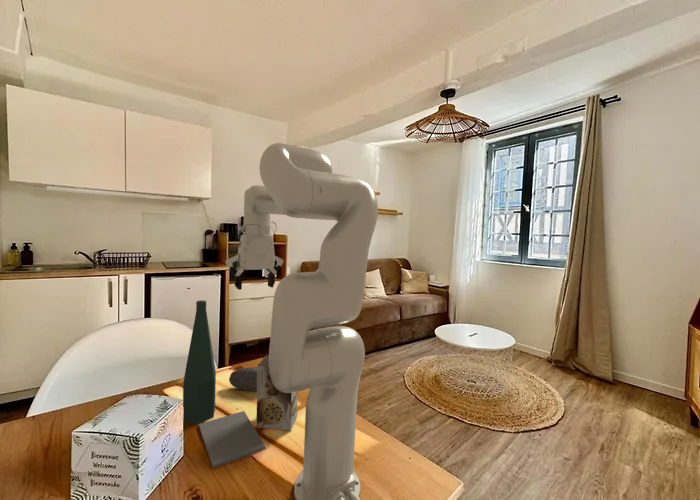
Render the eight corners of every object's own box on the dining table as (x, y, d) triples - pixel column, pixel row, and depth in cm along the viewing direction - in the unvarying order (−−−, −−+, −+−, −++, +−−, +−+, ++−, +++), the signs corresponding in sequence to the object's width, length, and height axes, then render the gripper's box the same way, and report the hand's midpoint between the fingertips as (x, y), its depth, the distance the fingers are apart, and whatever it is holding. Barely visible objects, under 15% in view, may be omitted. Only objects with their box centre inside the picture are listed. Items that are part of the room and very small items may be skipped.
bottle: (213, 403, 87) (215, 297, 85) (218, 418, 81) (220, 303, 79) (181, 411, 83) (182, 299, 81) (183, 427, 76) (185, 306, 74)
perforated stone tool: (225, 391, 94) (225, 369, 93) (233, 383, 99) (233, 361, 99) (274, 396, 93) (275, 373, 92) (279, 387, 98) (280, 365, 98)
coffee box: (297, 416, 83) (299, 357, 82) (290, 431, 77) (293, 367, 76) (264, 412, 84) (266, 354, 83) (254, 427, 78) (256, 364, 77)
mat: (265, 448, 71) (265, 446, 71) (213, 468, 64) (213, 465, 64) (244, 413, 84) (244, 410, 84) (198, 426, 77) (198, 424, 77)
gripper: (230, 230, 86) (228, 292, 87) (288, 232, 96) (286, 288, 97) (223, 229, 92) (221, 287, 93) (279, 231, 102) (277, 284, 103)
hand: (255, 287), depth 95 cm, fingers open, 9 cm apart
